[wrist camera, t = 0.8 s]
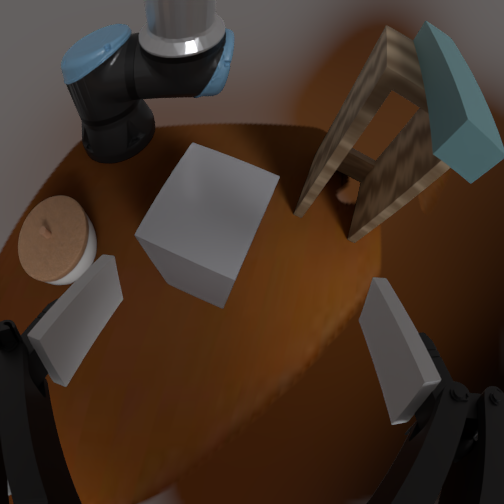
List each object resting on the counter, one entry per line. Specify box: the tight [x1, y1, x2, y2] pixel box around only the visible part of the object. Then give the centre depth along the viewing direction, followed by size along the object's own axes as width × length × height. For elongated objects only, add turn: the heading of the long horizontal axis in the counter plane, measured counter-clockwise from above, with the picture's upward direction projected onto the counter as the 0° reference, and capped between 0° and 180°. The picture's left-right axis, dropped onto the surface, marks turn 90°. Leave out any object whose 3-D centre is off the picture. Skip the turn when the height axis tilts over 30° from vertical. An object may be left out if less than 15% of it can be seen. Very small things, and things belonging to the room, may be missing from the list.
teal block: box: [413, 21, 504, 183], centre depth 17 cm, size 24×4×4 cm, turn 158°
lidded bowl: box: [18, 195, 97, 285], centre depth 34 cm, size 13×13×11 cm
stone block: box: [135, 142, 280, 309], centre depth 33 cm, size 10×9×20 cm
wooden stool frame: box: [294, 26, 451, 243], centre depth 35 cm, size 15×12×31 cm
